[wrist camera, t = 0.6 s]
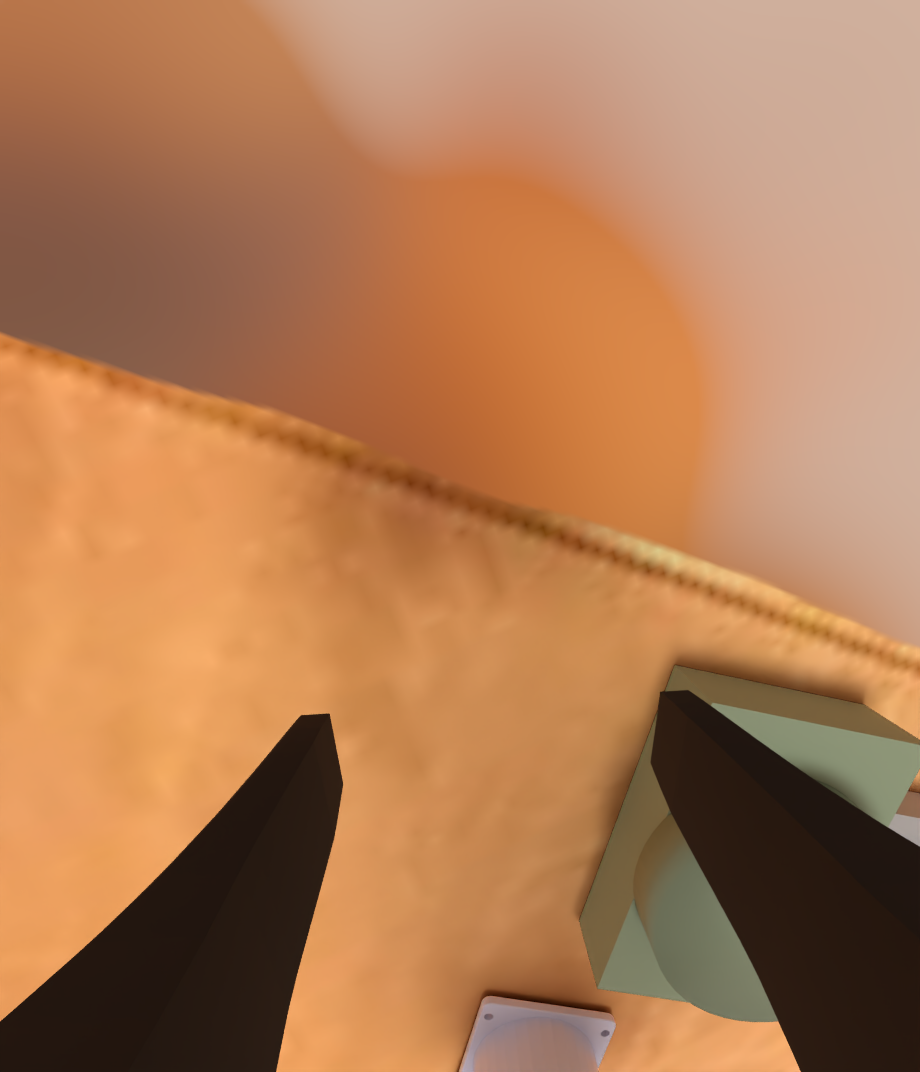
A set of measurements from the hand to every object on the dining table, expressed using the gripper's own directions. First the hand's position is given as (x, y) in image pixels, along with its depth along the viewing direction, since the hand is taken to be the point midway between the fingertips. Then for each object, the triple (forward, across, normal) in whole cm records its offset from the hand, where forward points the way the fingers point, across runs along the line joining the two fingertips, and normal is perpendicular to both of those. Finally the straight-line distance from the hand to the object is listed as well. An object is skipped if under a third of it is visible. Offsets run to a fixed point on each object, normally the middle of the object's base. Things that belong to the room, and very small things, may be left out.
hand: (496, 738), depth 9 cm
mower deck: (+8, -17, +16) cm, 25 cm away
